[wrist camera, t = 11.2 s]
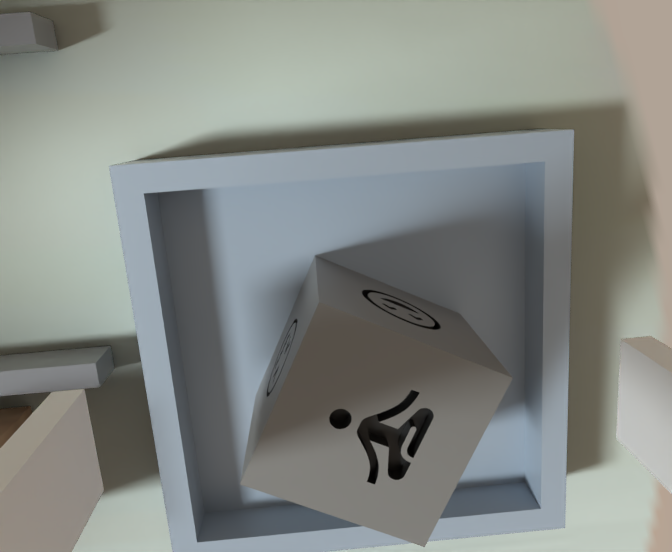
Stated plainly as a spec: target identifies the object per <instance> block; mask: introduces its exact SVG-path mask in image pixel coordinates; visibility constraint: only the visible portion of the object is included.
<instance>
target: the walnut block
mask: <svg viewBox="0 0 672 552" xmlns="http://www.w3.org/2000/svg"><path fill="white" fill-rule="evenodd" d="M31 414H32V410H31V406H26V407H14V408H3V409H0V448H1V447H2V446H3V445H4V444H5V443H6V442H7V441H8V440H9V438H10V437H11V436H12V435H13V434H14V433H15V432H16V431H17V430H18V429H19V427H20V426H21V425H22V424H23V423H24V422H25V421H26V420H27V419H28V418H29V417H30V415H31Z"/></svg>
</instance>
